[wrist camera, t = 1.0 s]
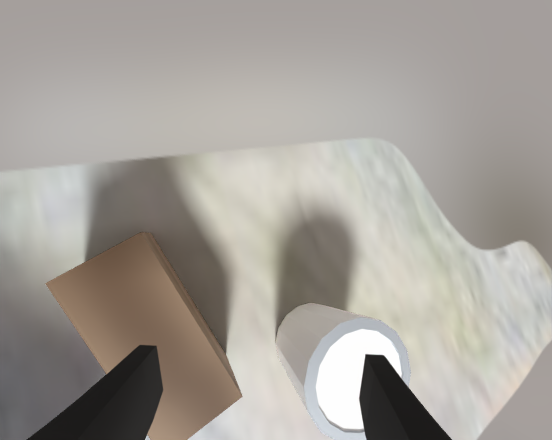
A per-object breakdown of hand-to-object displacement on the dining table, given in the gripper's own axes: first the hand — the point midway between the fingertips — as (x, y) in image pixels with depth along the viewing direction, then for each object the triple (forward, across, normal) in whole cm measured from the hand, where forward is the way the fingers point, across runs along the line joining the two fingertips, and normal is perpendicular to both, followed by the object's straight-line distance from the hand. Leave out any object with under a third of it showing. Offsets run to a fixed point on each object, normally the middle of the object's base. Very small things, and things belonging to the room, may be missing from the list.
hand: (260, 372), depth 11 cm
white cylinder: (+11, -3, +8) cm, 14 cm away
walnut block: (+9, +8, +5) cm, 12 cm away
